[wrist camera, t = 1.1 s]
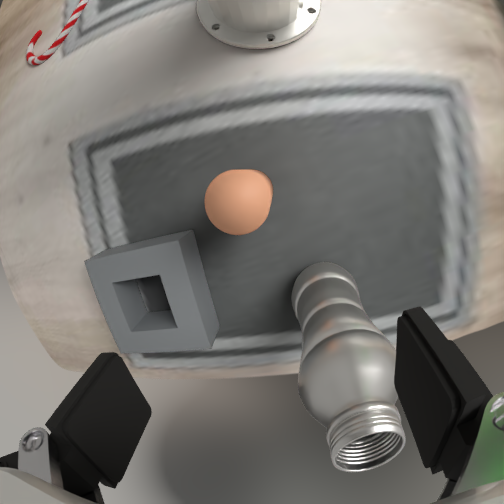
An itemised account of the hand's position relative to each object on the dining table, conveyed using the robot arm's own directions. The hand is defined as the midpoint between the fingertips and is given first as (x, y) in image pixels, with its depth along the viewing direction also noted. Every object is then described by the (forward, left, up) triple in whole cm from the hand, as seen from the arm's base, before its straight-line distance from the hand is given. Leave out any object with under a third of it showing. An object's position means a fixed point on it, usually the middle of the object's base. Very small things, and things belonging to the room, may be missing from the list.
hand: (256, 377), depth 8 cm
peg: (-4, -1, -20) cm, 21 cm away
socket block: (+4, -13, -20) cm, 24 cm away
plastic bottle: (+6, +4, -20) cm, 22 cm away
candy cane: (-35, -21, -21) cm, 46 cm away
